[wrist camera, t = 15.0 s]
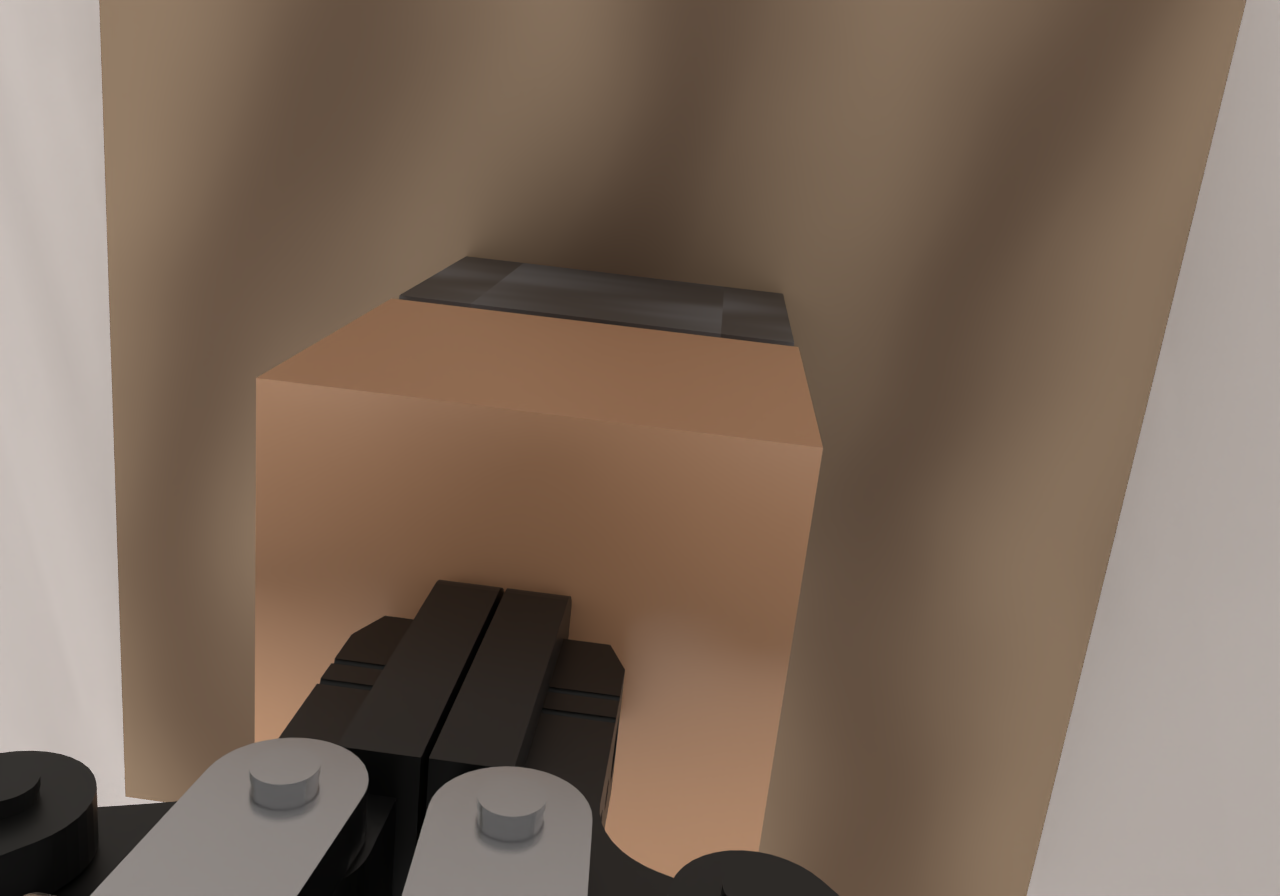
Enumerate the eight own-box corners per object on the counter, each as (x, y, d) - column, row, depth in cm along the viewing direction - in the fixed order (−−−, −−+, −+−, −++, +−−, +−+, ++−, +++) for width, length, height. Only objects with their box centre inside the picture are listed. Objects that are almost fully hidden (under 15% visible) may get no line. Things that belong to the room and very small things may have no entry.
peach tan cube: (798, 347, 17) (823, 448, 12) (744, 711, 18) (746, 926, 14) (391, 298, 17) (255, 377, 12) (376, 662, 19) (254, 856, 14)
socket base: (1228, -64, 20) (1417, -126, 15) (1004, 878, 26) (1078, 1094, 21) (136, -174, 21) (-83, -273, 16) (157, 759, 27) (4, 935, 22)
